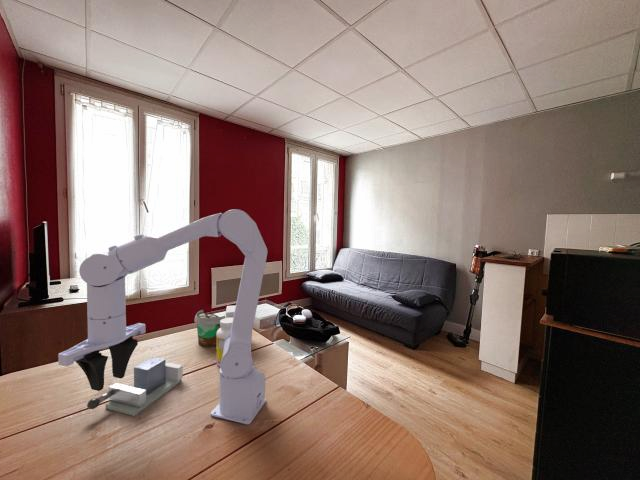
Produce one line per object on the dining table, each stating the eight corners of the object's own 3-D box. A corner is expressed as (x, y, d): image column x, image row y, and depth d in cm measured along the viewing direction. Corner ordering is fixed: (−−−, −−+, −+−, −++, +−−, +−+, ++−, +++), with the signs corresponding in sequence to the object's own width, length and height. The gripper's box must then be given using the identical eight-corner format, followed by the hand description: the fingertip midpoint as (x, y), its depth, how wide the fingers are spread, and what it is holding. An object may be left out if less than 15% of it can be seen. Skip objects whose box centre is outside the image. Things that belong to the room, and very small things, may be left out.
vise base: (182, 381, 67) (182, 365, 67) (135, 416, 55) (135, 397, 54) (155, 375, 69) (155, 360, 69) (104, 408, 57) (104, 389, 56)
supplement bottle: (222, 355, 80) (223, 315, 80) (243, 357, 80) (243, 316, 79) (211, 367, 74) (212, 323, 73) (234, 369, 73) (234, 325, 72)
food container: (186, 343, 88) (186, 314, 88) (202, 336, 94) (202, 309, 93) (210, 352, 82) (211, 321, 82) (226, 344, 88) (226, 315, 87)
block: (147, 395, 60) (147, 370, 59) (134, 391, 61) (133, 367, 60) (165, 382, 65) (165, 359, 64) (152, 379, 66) (152, 356, 65)
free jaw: (146, 402, 57) (145, 389, 57) (117, 423, 51) (117, 409, 51) (115, 394, 59) (115, 382, 59) (84, 413, 53) (84, 400, 53)
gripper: (127, 302, 58) (128, 360, 59) (44, 325, 44) (46, 402, 45) (153, 305, 56) (153, 366, 57) (74, 331, 42) (76, 411, 43)
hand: (108, 382), depth 51 cm, fingers open, 3 cm apart
